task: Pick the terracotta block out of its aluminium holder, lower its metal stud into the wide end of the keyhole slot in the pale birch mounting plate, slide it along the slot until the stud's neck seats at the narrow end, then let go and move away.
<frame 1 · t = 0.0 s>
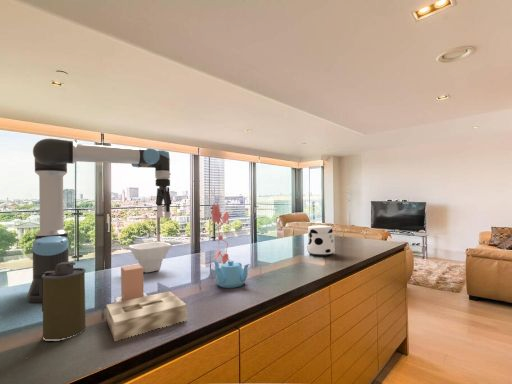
hand: (163, 217, 151), 28 cm above the worktop, tool pointing down, fingers open, 13 cm apart
canister: (64, 333, 80), on the worktop
stud block: (132, 305, 98), resting in holder
pink leafy branch: (216, 264, 161), on the worktop
bowl: (150, 271, 147), on the worktop
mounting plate: (146, 320, 86), on the worktop
holder: (132, 306, 98), on the worktop
teapot: (229, 285, 120), on the worktop
milk container: (321, 254, 178), on the worktop
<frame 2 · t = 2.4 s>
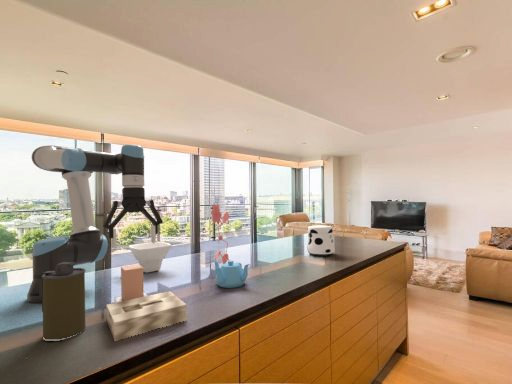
hand: (134, 245, 102), 21 cm above the worktop, tool pointing down, fingers open, 13 cm apart
nothing on the worktop moved.
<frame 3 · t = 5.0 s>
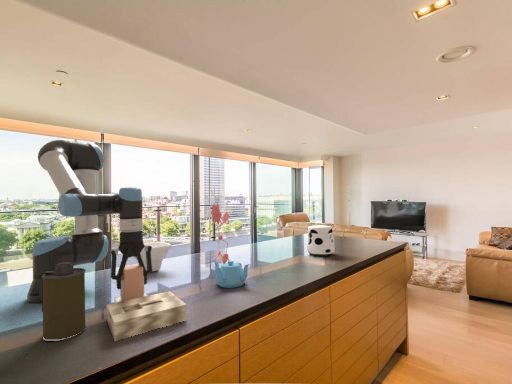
hand: (132, 295, 98), 4 cm above the worktop, tool pointing down, fingers closed on stud block, 6 cm apart
stud block: (132, 305, 98), resting in holder, touching gripper
everything else where it was.
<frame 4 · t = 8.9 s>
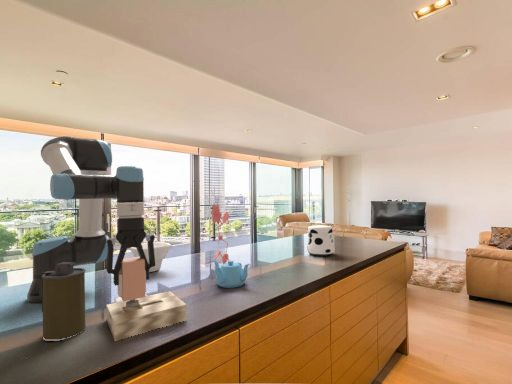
hand: (132, 293, 84), 9 cm above the worktop, tool pointing down, fingers closed on stud block, 6 cm apart
stud block: (132, 304, 84), point 6 cm above the worktop, touching gripper
everything else where it was.
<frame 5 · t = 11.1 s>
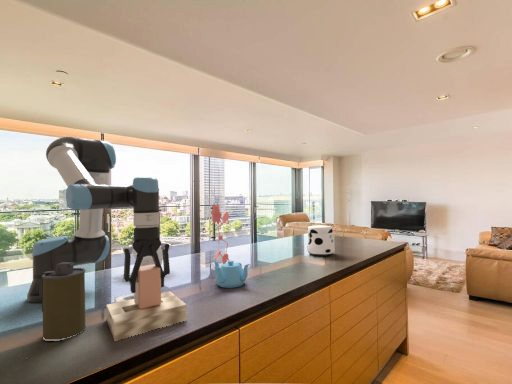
hand: (147, 300, 87), 6 cm above the worktop, tool pointing down, fingers closed on stud block, 6 cm apart
stud block: (148, 311, 87), point 3 cm above the worktop, touching gripper
everything else where it was.
when the fingers open (6 cm above the worktop, at t = 12.9 s): stud block stays where it is, resting on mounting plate.
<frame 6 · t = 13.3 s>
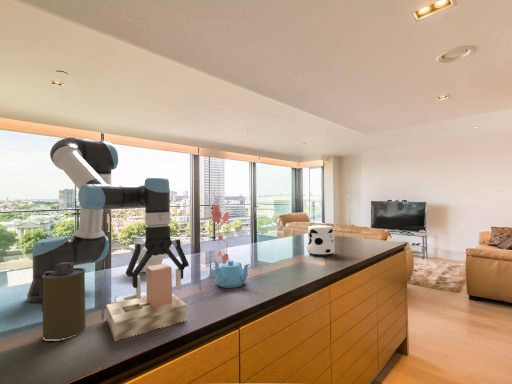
hand: (159, 293, 89), 8 cm above the worktop, tool pointing down, fingers open, 12 cm apart
stud block: (159, 310, 89), point 2 cm above the worktop, touching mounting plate
everything else where it was.
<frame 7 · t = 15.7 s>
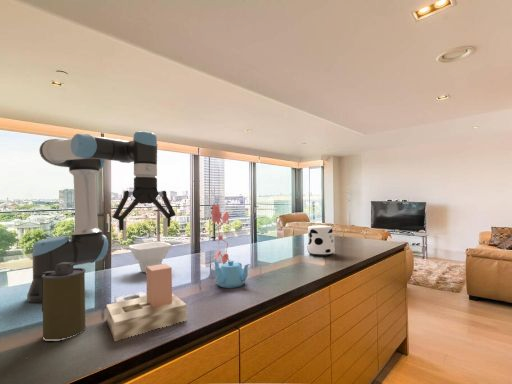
hand: (145, 238, 96), 24 cm above the worktop, tool pointing down, fingers open, 13 cm apart
nothing on the worktop moved.
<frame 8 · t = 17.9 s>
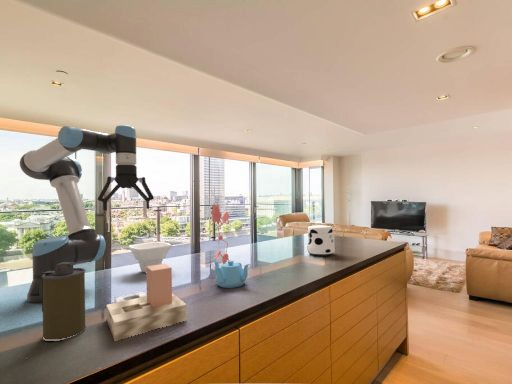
hand: (127, 218, 110), 31 cm above the worktop, tool pointing down, fingers open, 13 cm apart
nothing on the worktop moved.
at the end: stud block 0.0 cm from the target spot on the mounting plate, point 2.3 cm above the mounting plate's base; stud block tilted 0°; the gripper is holding nothing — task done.
